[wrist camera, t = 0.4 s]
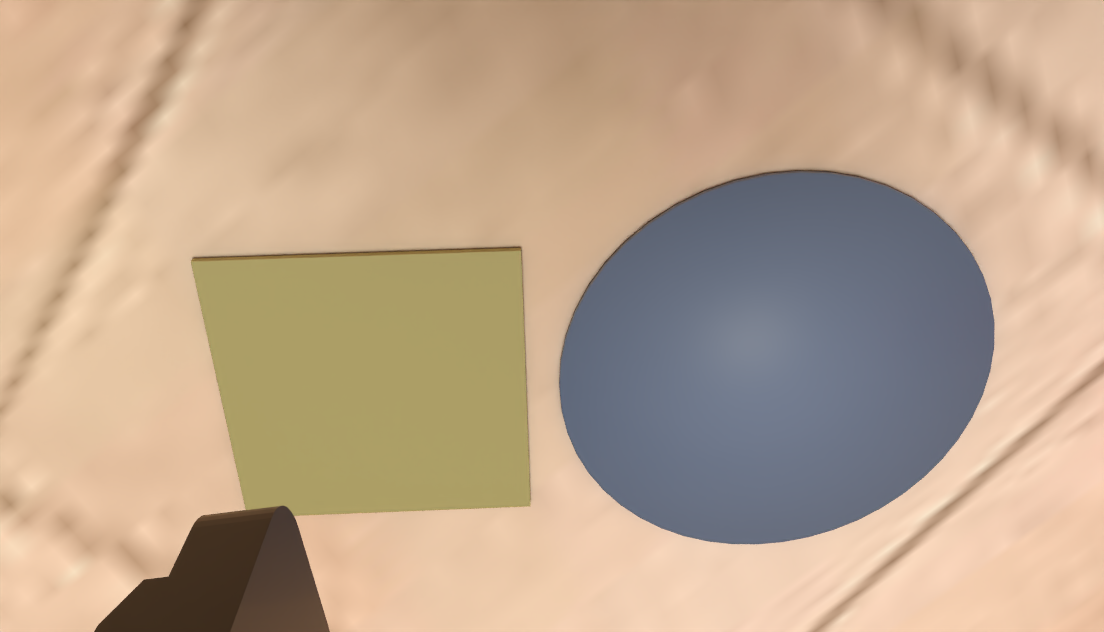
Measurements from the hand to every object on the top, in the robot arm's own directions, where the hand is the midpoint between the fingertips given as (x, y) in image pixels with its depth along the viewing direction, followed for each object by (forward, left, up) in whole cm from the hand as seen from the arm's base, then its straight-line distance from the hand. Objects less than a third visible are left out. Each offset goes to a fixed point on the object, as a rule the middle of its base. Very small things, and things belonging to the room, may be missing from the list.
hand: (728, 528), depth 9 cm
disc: (+9, +6, -17) cm, 20 cm away
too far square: (+9, -6, -17) cm, 21 cm away
